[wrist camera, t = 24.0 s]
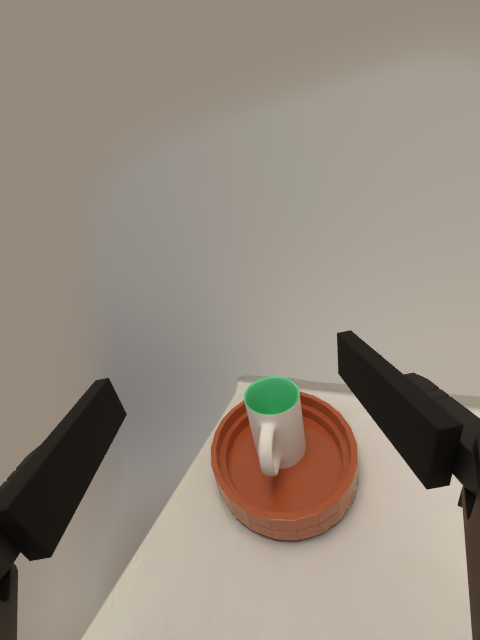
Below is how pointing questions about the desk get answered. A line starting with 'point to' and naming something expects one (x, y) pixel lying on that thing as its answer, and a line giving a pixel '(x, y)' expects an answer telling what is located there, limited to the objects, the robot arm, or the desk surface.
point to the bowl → (288, 474)
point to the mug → (276, 423)
